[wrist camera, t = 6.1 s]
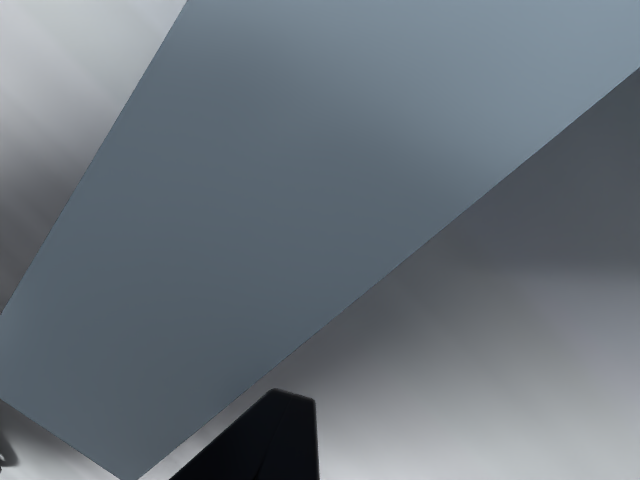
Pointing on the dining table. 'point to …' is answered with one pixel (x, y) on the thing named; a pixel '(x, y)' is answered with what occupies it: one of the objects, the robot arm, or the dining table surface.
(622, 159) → the dining table surface
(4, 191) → the dining table surface
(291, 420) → the robot arm
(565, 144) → the dining table surface
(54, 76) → the dining table surface
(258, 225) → the leg
